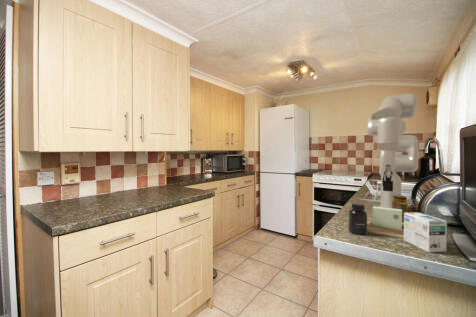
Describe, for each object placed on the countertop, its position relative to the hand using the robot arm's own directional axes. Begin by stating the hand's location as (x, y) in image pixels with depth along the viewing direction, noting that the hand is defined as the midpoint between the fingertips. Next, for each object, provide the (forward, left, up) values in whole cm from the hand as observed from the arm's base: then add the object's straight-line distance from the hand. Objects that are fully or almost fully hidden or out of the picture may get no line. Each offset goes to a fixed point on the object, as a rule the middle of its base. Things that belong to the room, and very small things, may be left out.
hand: (387, 188), depth 92 cm
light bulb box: (+9, +11, -19) cm, 23 cm away
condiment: (-20, +5, -19) cm, 28 cm away
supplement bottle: (+7, -10, -19) cm, 22 cm away
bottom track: (+1, 0, -18) cm, 18 cm away
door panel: (0, 0, -17) cm, 17 cm away
